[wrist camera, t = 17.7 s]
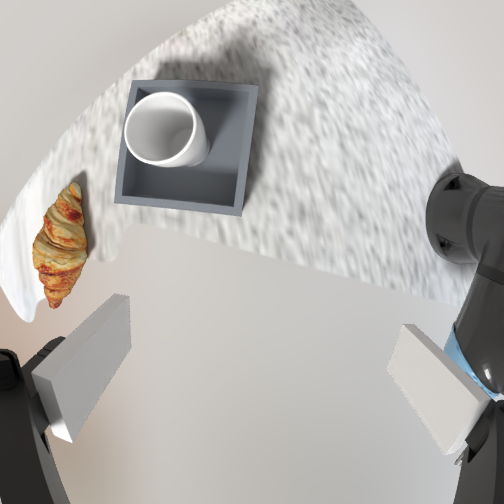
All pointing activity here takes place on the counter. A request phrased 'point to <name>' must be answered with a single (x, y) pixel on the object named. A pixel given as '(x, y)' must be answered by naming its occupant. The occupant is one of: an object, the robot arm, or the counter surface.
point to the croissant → (61, 246)
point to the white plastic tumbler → (166, 131)
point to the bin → (214, 165)
